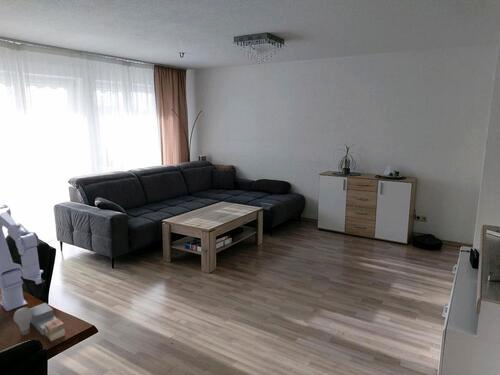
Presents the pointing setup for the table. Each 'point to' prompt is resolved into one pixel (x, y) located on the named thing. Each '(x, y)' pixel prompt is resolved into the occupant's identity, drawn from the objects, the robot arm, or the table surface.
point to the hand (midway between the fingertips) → (34, 294)
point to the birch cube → (54, 329)
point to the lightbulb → (23, 319)
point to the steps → (42, 317)
